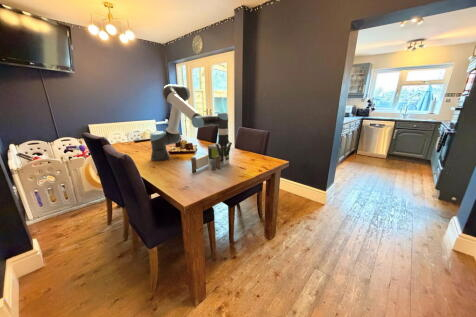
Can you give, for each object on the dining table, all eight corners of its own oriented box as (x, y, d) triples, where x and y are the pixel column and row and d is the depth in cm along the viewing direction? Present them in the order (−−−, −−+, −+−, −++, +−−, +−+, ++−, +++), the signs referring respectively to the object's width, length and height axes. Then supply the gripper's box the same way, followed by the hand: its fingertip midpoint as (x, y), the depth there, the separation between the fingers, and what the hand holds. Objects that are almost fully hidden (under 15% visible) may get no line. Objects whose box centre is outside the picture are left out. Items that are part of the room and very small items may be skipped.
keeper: (211, 170, 141) (210, 159, 139) (215, 169, 142) (215, 159, 140) (211, 170, 140) (211, 160, 138) (216, 170, 141) (215, 159, 139)
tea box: (229, 163, 156) (229, 145, 152) (221, 166, 149) (220, 147, 145) (217, 159, 166) (216, 143, 161) (208, 162, 158) (207, 145, 154)
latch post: (215, 168, 145) (215, 155, 142) (219, 167, 146) (219, 155, 143) (217, 169, 142) (216, 156, 139) (220, 169, 143) (220, 156, 141)
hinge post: (191, 171, 138) (190, 157, 135) (196, 171, 140) (195, 156, 136) (192, 173, 135) (191, 158, 132) (197, 172, 136) (196, 158, 133)
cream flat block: (197, 169, 139) (196, 159, 136) (195, 168, 139) (194, 159, 137) (208, 164, 150) (208, 154, 148) (206, 163, 151) (206, 154, 149)
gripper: (216, 135, 136) (217, 166, 143) (233, 134, 141) (233, 164, 148) (213, 133, 143) (214, 163, 150) (229, 132, 148) (230, 161, 155)
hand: (224, 164), depth 149 cm, fingers closed
